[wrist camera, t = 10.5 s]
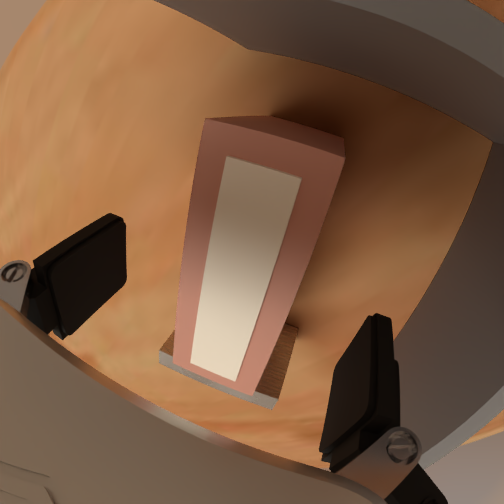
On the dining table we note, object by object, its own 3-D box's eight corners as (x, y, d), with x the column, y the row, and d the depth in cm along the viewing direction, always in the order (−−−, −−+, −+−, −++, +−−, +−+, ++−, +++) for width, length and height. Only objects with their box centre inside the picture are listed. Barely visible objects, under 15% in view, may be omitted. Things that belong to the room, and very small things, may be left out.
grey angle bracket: (254, 26, 14) (147, -50, 4) (516, 131, 11) (637, 172, 2) (194, 307, 25) (122, 406, 15) (386, 375, 22) (384, 491, 13)
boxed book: (270, 115, 16) (202, 118, 9) (343, 138, 16) (345, 159, 8) (230, 278, 22) (170, 365, 14) (286, 299, 22) (251, 399, 14)
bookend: (203, 292, 24) (159, 350, 18) (298, 328, 22) (278, 399, 16) (195, 338, 26) (159, 393, 20) (277, 370, 25) (256, 434, 19)
